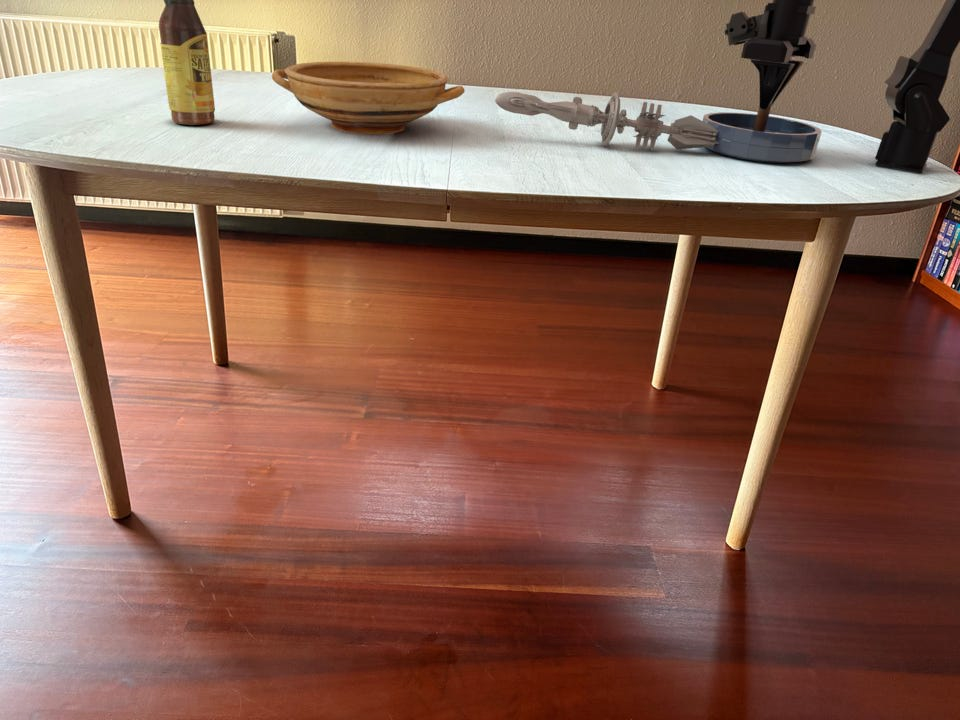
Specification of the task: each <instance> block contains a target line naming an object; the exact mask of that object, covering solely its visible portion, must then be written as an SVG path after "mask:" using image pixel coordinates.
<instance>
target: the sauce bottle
mask: <svg viewBox="0 0 960 720" xmlns="http://www.w3.org/2000/svg"><path fill="white" fill-rule="evenodd" d="M163 2H164V4H165V5H164V8H163V10H162V12H161V14H160V17H159V20H158V30H159V37H160V50H161V51H160V52H161V59H162V60H161V61H162V66H163V73H164V74H163V75H164V81H165V88H166V95H167V103H168V108H169V110H170V115H171V120H172V122H174V123H175V124H179V125H187V126H197V125H199V126H201V125H208V124H212V123H214V121H215V112H216V106H215V97H214V96H215V95H214V88H213V79H212V69H211V60H210V59H211V58H210V51H209V42H208V33H207V32H206V28H205V26H204V25H203V22H202V20H201V18H200V16H199V15H200V14H199V13H198V10H197V8H196V6H195V0H163Z"/></svg>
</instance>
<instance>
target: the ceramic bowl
mask: <svg viewBox="0 0 960 720" xmlns="http://www.w3.org/2000/svg"><path fill="white" fill-rule="evenodd" d="M271 79H272V81H273V82H274V83H275V84H277V85H278V86H280V87H282V88H283V89H285V90H287V91H288V92H290V93H292V94H293V96H294V97H295V99H296V100H297V102H298V103H300V104H301V105H302V106H303V107H304V108H306V109H307V110H309V111H311V112H313V113H315V114H316V115H318V116H321V117H323V118H324V119H326V120H328V121H331V127H332V128H334V130H335V129H336V130H338V131H341V132H345V133H351V134H357V135H359V134H360V135H390V134H396V133H401V132H403V131H404V130H405V129H406V124H409V123H411V122H413V121H415V120H418V119H419V118H422V117H424V116H427V115H428V114H431V113H432V112H433V111H434V110H435V109H436V108H437V107H438V105H441V104H445V103H446V102H449V101H452V100H456V99H457V98H460V97H461V96H462V95H463V94H464V93H465V87H464V86H463V85H456V86H452V87H448V88H446V85H447V84H448V81H449V78H448V76H447V75H445V74H444V73H442V72H439V71H437V70H432V69H429V68H422V67H417V66H411V65H403V64H393V63H382V62H367V61H311V62H302V63H296V64H292V65H290V66H287V67H285V69H275V70H274V71H272V73H271Z"/></svg>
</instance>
